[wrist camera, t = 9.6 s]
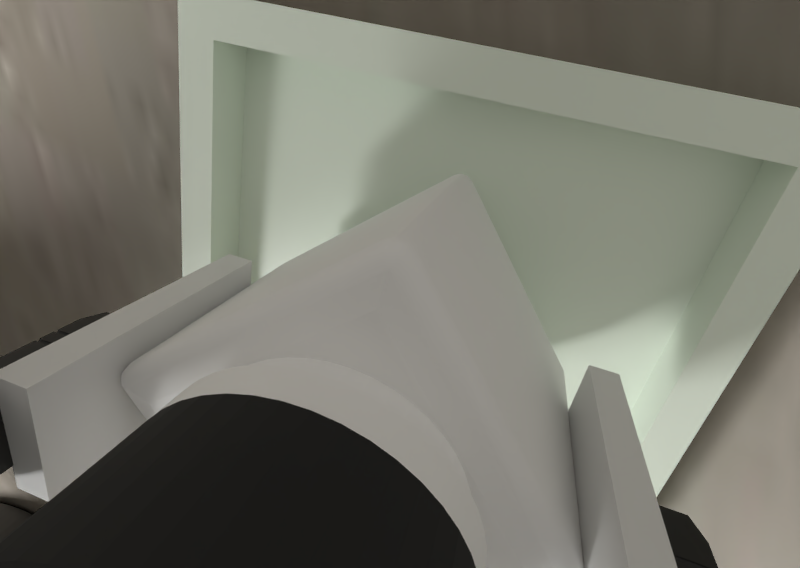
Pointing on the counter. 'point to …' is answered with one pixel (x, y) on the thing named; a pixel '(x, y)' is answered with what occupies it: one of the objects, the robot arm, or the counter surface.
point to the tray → (505, 185)
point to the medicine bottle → (341, 419)
